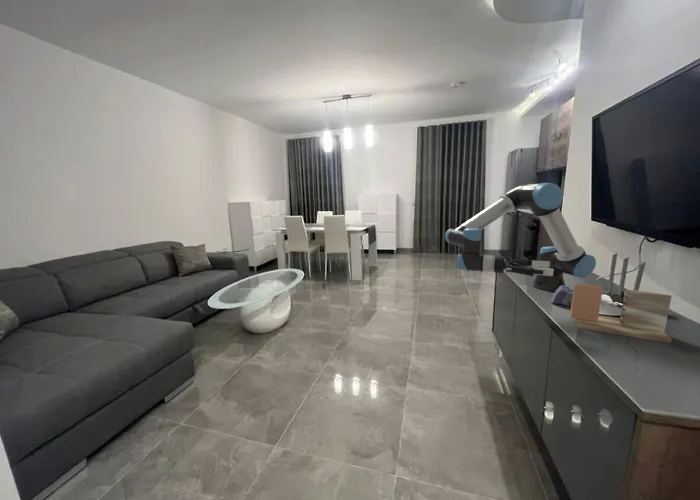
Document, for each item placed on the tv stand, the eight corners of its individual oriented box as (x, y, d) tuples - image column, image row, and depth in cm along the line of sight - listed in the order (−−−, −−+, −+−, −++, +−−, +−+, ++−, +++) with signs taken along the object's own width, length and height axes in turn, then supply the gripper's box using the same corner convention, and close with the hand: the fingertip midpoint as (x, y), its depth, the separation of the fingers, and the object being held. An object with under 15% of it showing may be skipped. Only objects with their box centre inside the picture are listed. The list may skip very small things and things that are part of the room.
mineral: (558, 287, 136) (552, 280, 145) (552, 306, 139) (546, 298, 148) (596, 294, 132) (587, 285, 141) (590, 313, 134) (581, 304, 144)
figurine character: (612, 310, 136) (659, 314, 127) (612, 294, 135) (659, 297, 126) (609, 306, 141) (654, 309, 132) (609, 290, 140) (655, 292, 131)
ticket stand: (572, 315, 128) (576, 280, 125) (654, 327, 115) (661, 289, 113) (578, 328, 116) (583, 290, 113) (671, 343, 103) (679, 300, 100)
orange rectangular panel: (570, 315, 123) (574, 283, 120) (596, 319, 119) (601, 285, 116) (570, 317, 121) (575, 284, 118) (597, 321, 117) (602, 287, 114)
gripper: (495, 265, 143) (547, 269, 133) (491, 279, 122) (553, 285, 112) (495, 250, 142) (548, 253, 132) (492, 262, 121) (555, 266, 111)
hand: (551, 268), depth 122 cm, fingers open, 13 cm apart
